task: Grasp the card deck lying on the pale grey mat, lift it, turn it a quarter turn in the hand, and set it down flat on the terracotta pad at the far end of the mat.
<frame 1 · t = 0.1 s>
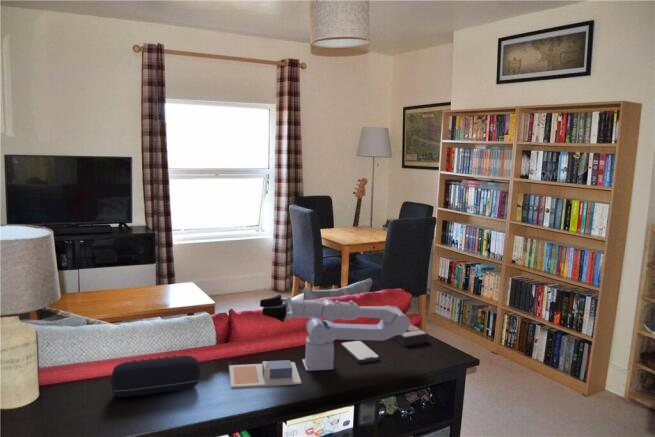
hand: (261, 307, 170), 22 cm above the table, tool horizontal, fingers open, 7 cm apart
phone case: (359, 354, 190), on the table
portable speaker: (156, 391, 157), on the table
mat: (264, 375, 169), on the table
card deck: (276, 374, 169), point 1 cm above the table, touching mat
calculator: (404, 338, 206), on the table
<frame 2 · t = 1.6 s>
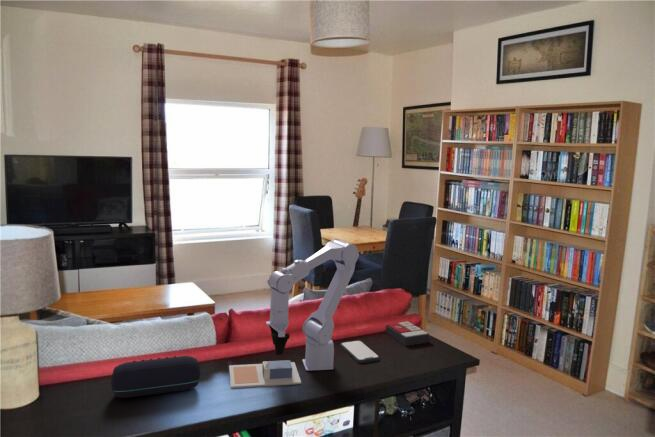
hand: (277, 349, 167), 9 cm above the table, tool pointing down, fingers open, 7 cm apart
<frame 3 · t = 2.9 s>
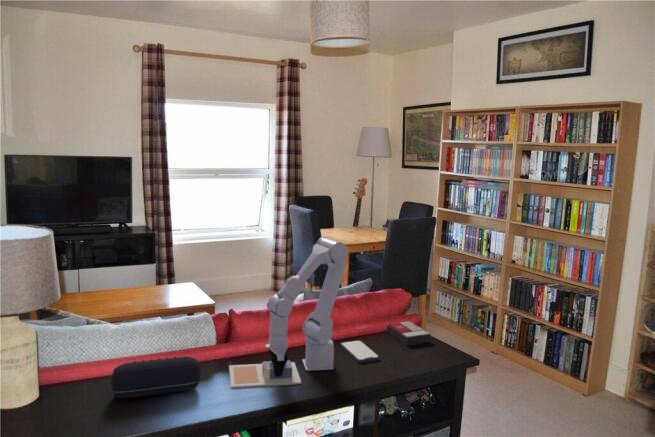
hand: (277, 371, 169), 2 cm above the table, tool pointing down, fingers closed on card deck, 5 cm apart
card deck: (276, 374, 169), point 1 cm above the table, touching gripper, mat
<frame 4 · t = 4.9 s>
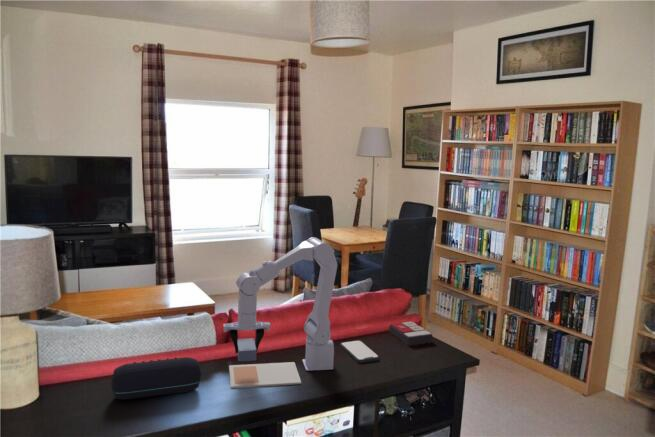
hand: (246, 351, 166), 9 cm above the table, tool pointing down, fingers closed on card deck, 5 cm apart
card deck: (246, 354, 167), point 8 cm above the table, touching gripper
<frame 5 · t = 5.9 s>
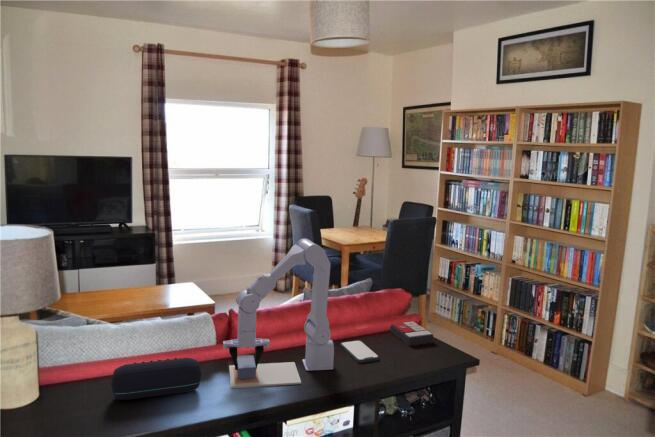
hand: (245, 368, 167), 3 cm above the table, tool pointing down, fingers closed on card deck, 5 cm apart
card deck: (245, 371, 168), point 2 cm above the table, touching gripper
when the fingers open (3 cm above the table, at t = 6.9 s): card deck drops 1 cm, resting on mat.
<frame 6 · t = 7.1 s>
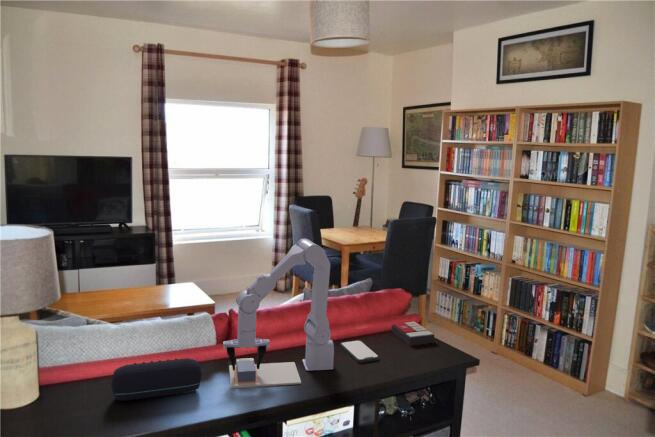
hand: (245, 368, 167), 3 cm above the table, tool pointing down, fingers open, 7 cm apart
card deck: (245, 374, 168), point 1 cm above the table, touching mat
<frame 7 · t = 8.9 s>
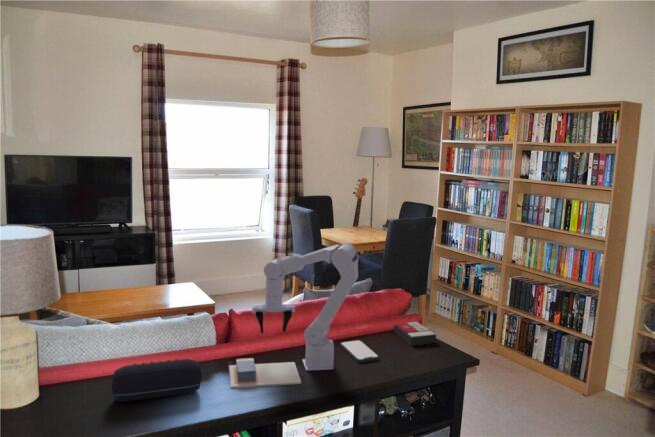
hand: (272, 331, 181), 9 cm above the table, tool pointing down, fingers open, 7 cm apart
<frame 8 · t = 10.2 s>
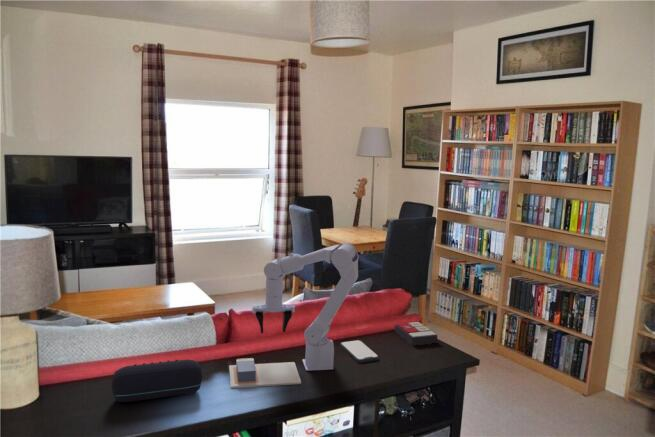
hand: (272, 331, 181), 9 cm above the table, tool pointing down, fingers open, 7 cm apart
at the end: card deck 0.0 cm from the target spot on the mat, point 0.7 cm above the mat's base; card deck tilted 0°; the gripper is holding nothing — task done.
